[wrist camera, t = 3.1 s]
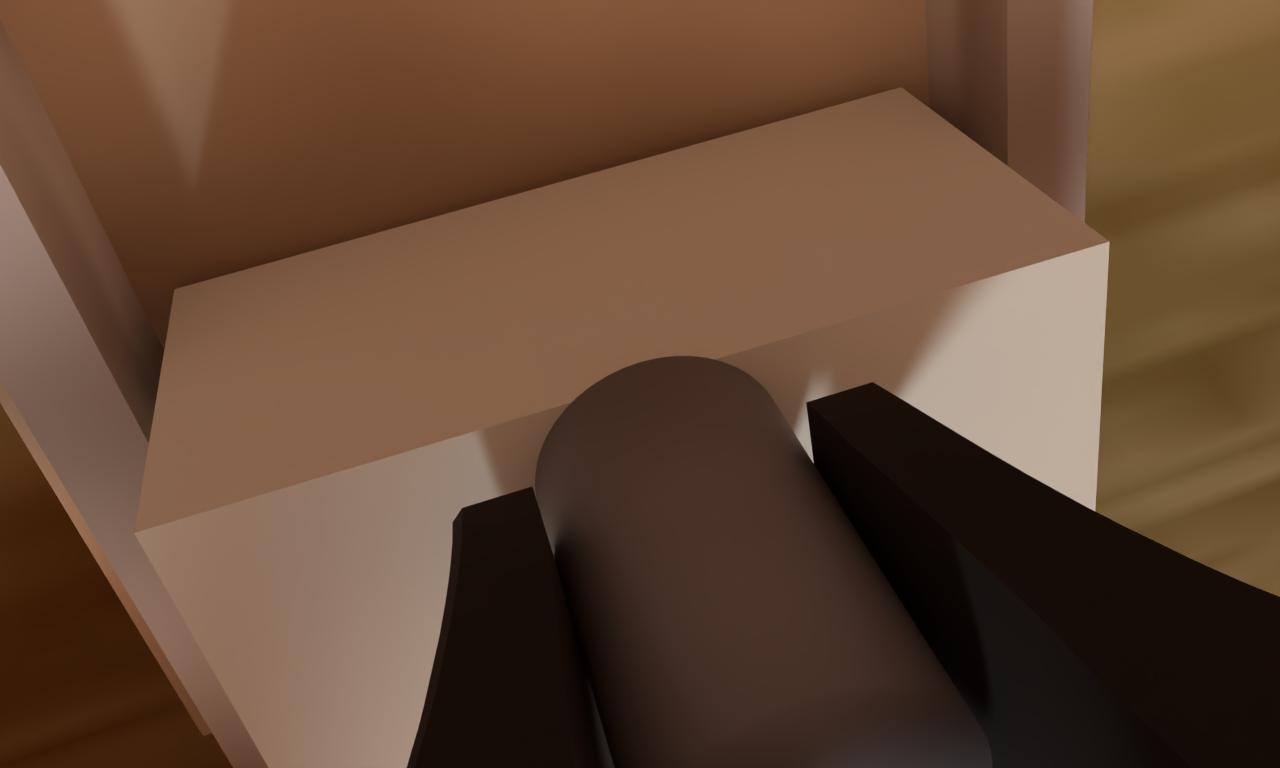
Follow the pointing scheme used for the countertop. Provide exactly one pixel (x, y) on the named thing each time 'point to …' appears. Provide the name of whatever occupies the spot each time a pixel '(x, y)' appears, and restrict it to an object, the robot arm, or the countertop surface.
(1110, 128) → the countertop surface
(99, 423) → the press board
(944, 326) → the block
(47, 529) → the countertop surface
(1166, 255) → the countertop surface
